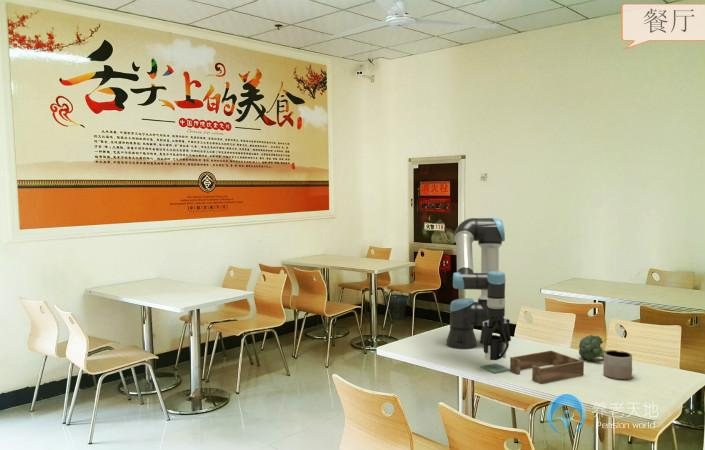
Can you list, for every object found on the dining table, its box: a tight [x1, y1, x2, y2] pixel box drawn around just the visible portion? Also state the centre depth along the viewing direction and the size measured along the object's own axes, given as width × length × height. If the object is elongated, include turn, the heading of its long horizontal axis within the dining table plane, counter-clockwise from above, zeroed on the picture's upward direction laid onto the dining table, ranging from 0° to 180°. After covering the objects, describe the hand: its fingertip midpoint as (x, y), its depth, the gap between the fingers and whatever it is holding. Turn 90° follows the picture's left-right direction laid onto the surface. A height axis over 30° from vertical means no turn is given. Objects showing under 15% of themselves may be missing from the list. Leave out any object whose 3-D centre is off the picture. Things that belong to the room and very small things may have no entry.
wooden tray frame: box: [509, 350, 585, 385], centre depth 235 cm, size 18×24×6 cm
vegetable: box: [578, 334, 607, 362], centre depth 254 cm, size 12×13×15 cm
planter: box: [602, 349, 633, 381], centre depth 231 cm, size 11×11×10 cm
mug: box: [482, 334, 510, 361], centre depth 240 cm, size 8×12×10 cm
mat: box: [479, 363, 511, 374], centre depth 240 cm, size 9×9×1 cm
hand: (495, 358), depth 240 cm, fingers closed on mug, 8 cm apart
